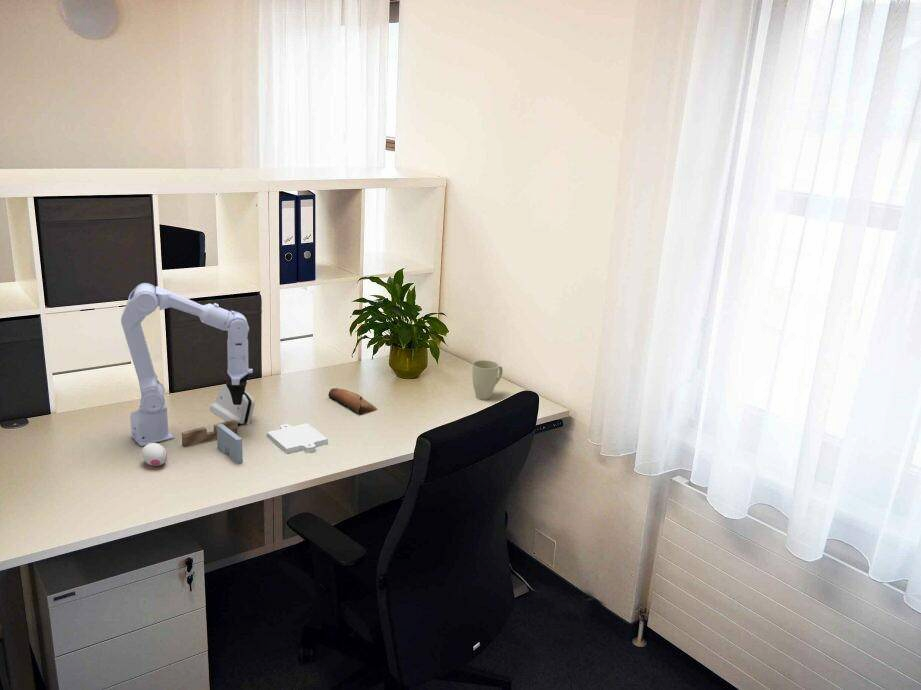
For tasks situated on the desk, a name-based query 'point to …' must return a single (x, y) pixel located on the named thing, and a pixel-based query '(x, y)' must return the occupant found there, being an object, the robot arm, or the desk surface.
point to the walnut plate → (205, 434)
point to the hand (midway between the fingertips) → (238, 399)
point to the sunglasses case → (352, 400)
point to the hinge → (233, 407)
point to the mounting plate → (297, 438)
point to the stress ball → (154, 454)
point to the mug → (485, 378)
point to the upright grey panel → (229, 443)
